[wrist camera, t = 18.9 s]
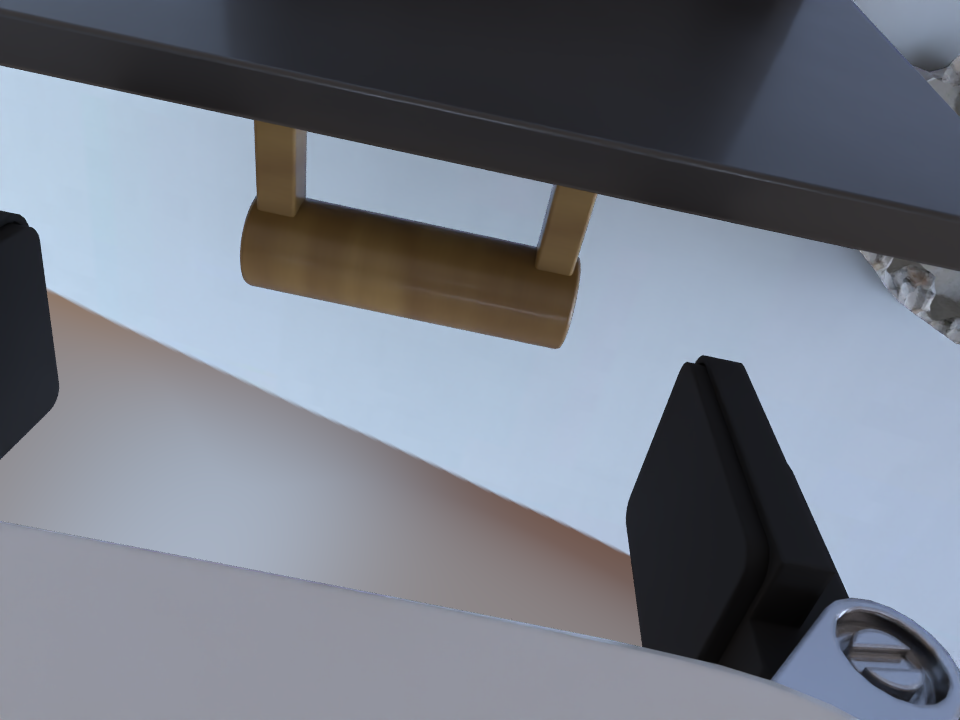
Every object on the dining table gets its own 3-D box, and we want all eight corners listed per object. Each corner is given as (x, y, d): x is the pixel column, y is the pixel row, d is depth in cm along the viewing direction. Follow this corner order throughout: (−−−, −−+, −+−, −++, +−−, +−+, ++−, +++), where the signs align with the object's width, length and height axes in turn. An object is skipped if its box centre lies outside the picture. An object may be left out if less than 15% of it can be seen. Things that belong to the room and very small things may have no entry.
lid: (-274, -49, 9) (-127, 269, 13) (1082, 244, 10) (882, 479, 13) (192, -172, 20) (206, 18, 23) (826, -30, 21) (752, 137, 24)
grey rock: (780, 160, 31) (809, 191, 27) (956, 20, 27) (1014, 34, 24) (916, 327, 34) (957, 374, 30) (1087, 219, 31) (1156, 258, 27)
